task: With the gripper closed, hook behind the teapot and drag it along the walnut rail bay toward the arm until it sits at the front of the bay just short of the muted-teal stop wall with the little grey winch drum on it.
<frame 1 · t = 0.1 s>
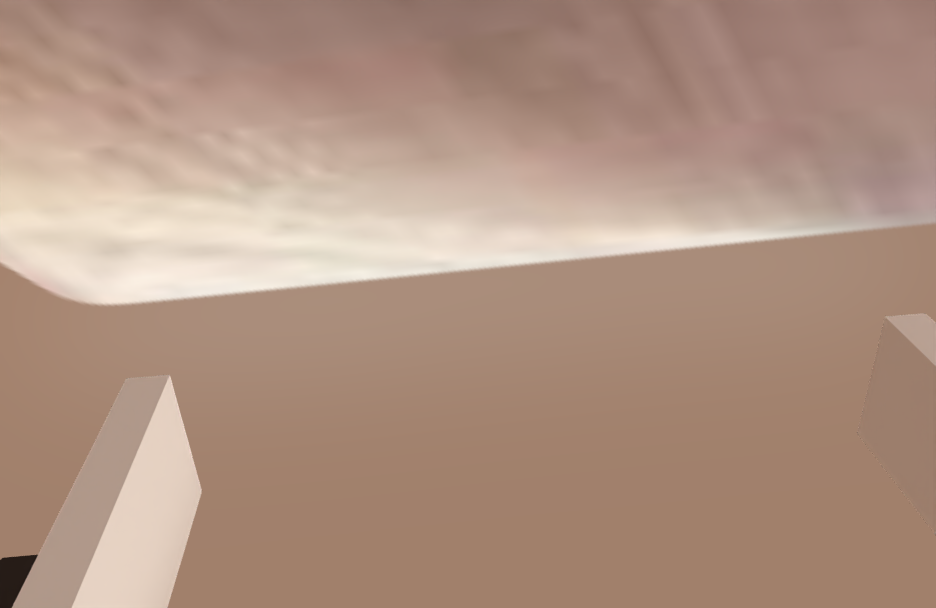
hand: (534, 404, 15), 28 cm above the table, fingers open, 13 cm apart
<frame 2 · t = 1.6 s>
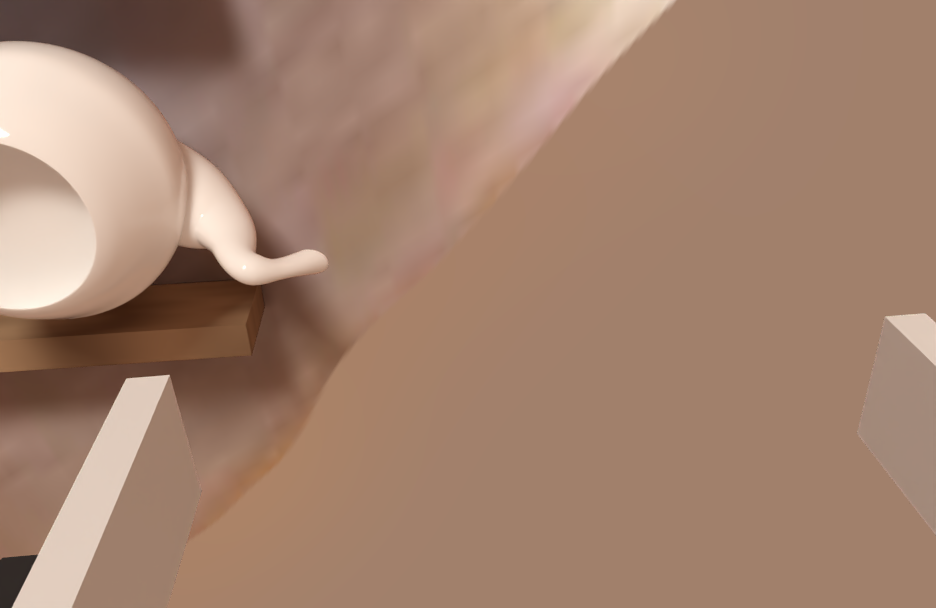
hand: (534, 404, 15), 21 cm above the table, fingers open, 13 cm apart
teapot: (96, 132, 33), on the table
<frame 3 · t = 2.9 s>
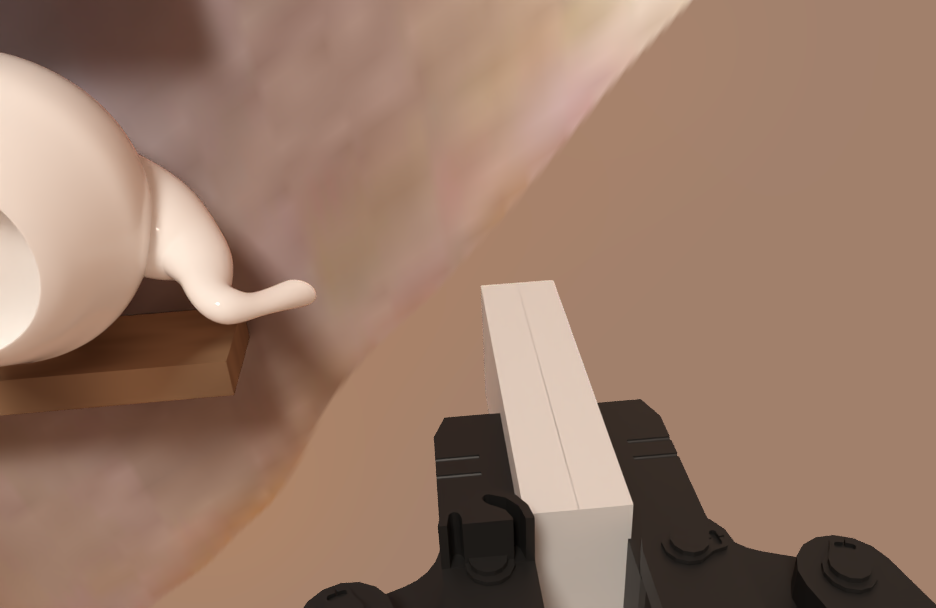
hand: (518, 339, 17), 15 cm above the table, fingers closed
teapot: (53, 147, 29), on the table
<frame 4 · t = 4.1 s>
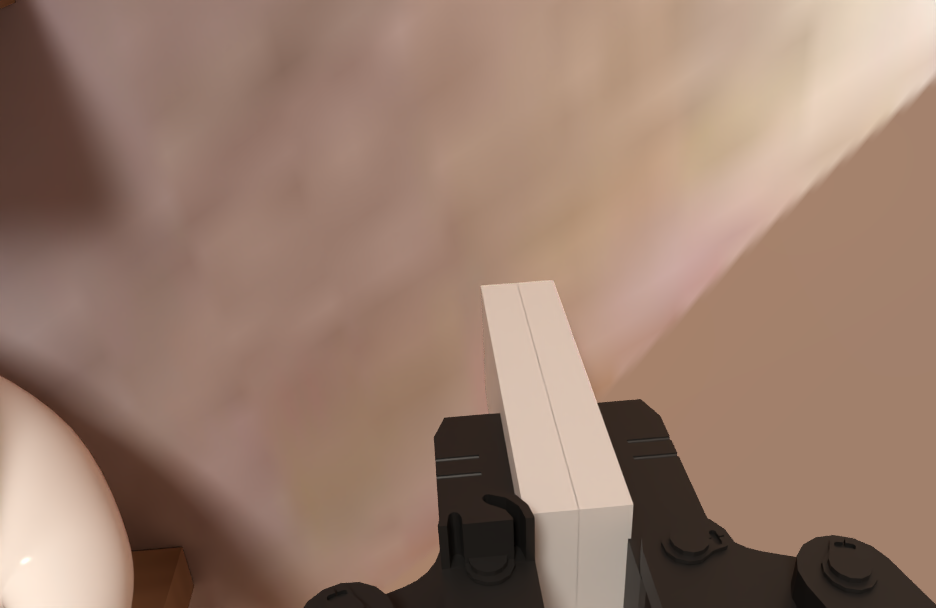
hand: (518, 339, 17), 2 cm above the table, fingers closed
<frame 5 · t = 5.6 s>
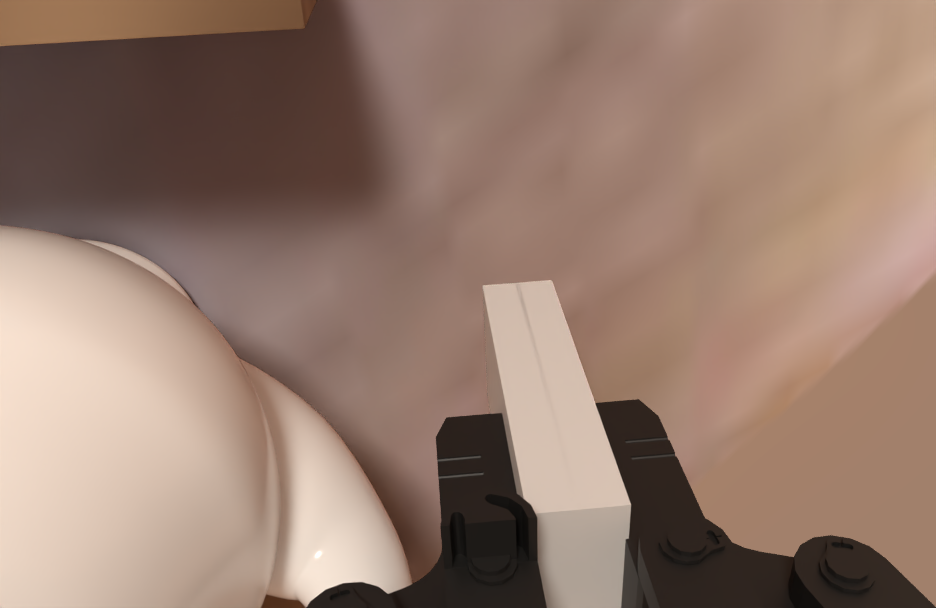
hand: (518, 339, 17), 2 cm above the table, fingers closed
teapot: (100, 324, 19), on the table, touching gripper
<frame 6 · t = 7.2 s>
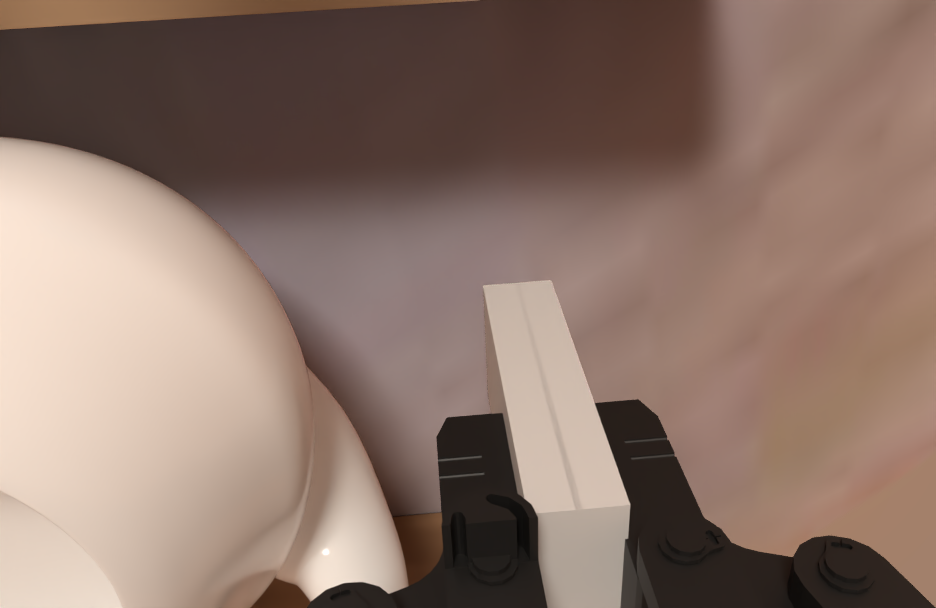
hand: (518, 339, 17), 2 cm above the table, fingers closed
bay: (80, 317, 19), on the table
teapot: (121, 264, 18), on the table, touching gripper
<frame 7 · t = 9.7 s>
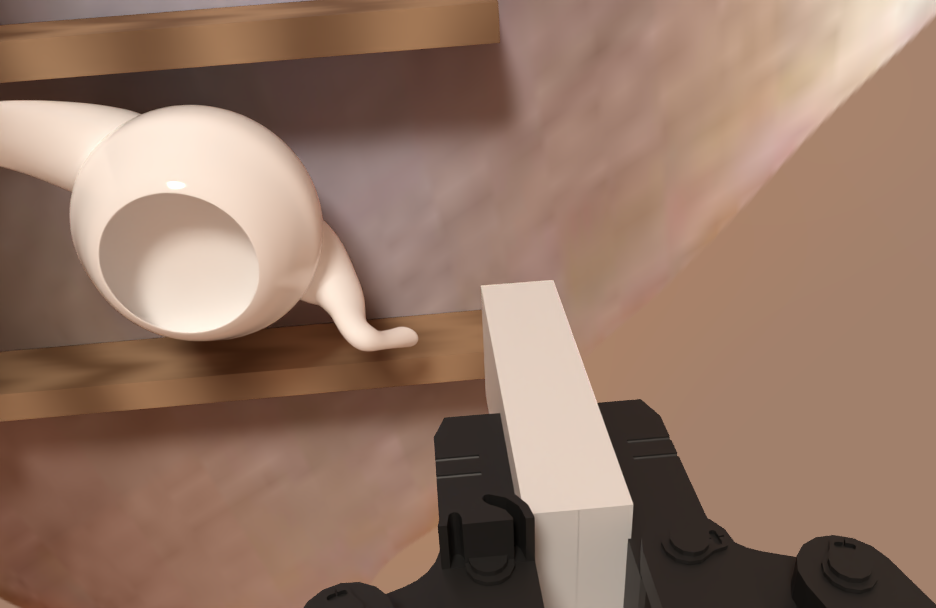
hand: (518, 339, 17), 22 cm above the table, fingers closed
bay: (210, 202, 38), on the table
teapot: (230, 175, 38), on the table
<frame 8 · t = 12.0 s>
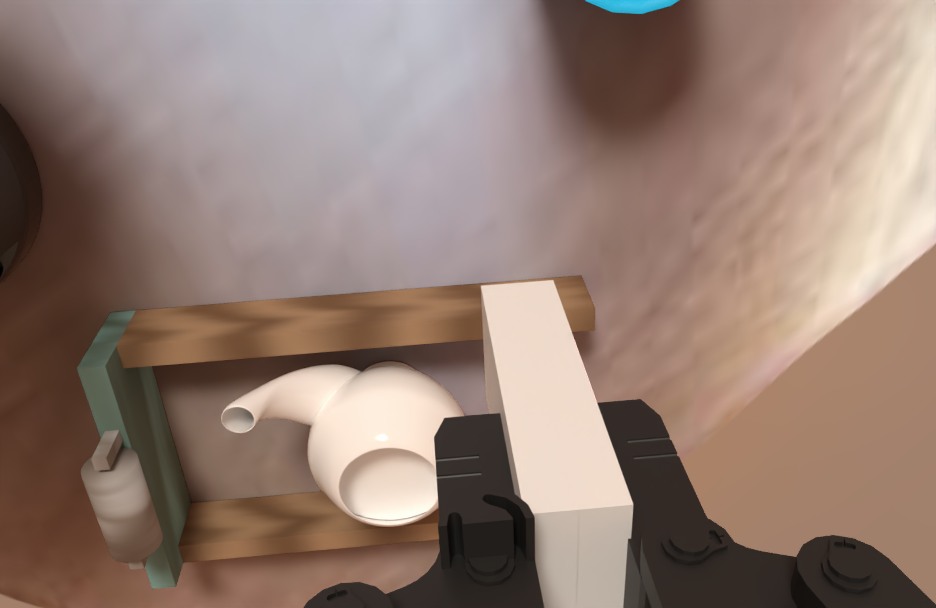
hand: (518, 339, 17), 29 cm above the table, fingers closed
bay: (375, 405, 54), on the table
teapot: (390, 388, 54), on the table
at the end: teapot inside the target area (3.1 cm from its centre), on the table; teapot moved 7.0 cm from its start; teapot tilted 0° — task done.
